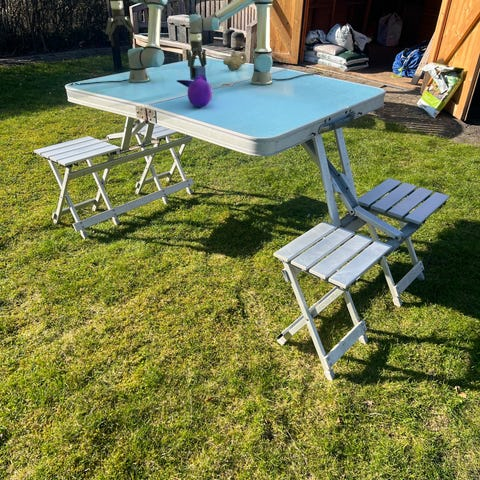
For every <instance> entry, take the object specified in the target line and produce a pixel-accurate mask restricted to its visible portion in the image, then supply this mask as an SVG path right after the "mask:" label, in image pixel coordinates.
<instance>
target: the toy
mask: <svg viewBox="0 0 480 480" xmlns="http://www.w3.org/2000/svg"><path fill="white" fill-rule="evenodd" d="M176 82H177V83H179V84H181V85H183V86H185V87H186V88H187V98H188V101H189V102H190V104H191V105H193V106H194V107H199V108H204V107H206V106H207V105H208V104H209V103H210V102H211V101H212V100H213V95H214V92H213V88H212V86H211V84H210V83H209V82H208V79H207V76H204V75H200V76H197V77H195V80H191V79H177V80H176Z"/></svg>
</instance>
